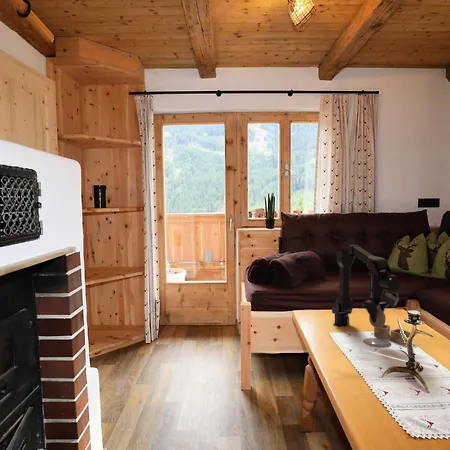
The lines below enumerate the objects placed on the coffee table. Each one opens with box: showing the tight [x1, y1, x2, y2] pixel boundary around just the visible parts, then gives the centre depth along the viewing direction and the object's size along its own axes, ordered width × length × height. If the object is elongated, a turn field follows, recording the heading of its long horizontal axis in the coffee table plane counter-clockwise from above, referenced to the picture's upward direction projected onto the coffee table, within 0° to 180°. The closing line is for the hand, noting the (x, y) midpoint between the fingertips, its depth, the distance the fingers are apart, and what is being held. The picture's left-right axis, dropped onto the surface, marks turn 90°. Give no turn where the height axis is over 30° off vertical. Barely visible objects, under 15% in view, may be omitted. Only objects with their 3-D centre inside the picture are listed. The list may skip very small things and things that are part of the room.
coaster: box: [362, 337, 392, 349], centre depth 173 cm, size 12×12×1 cm
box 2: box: [389, 328, 411, 345], centre depth 174 cm, size 6×6×5 cm
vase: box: [368, 308, 387, 328], centre depth 172 cm, size 7×7×9 cm
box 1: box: [373, 324, 391, 339], centre depth 182 cm, size 6×6×5 cm
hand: (377, 320), depth 172 cm, fingers closed on vase, 7 cm apart
